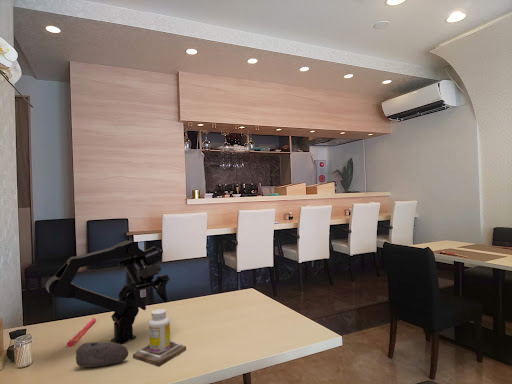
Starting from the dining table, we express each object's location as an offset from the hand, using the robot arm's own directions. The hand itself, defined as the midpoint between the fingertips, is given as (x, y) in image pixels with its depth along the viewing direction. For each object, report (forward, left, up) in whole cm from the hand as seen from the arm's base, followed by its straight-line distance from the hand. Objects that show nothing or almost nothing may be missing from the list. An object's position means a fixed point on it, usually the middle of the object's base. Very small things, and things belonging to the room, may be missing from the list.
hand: (156, 305), depth 115 cm
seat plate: (+7, -5, -14) cm, 16 cm away
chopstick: (-35, -6, -14) cm, 38 cm away
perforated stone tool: (-4, -18, -14) cm, 23 cm away
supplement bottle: (+6, -5, -13) cm, 15 cm away
